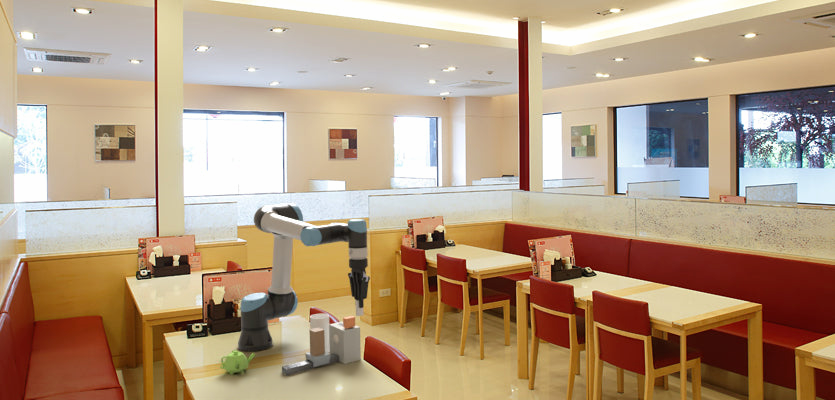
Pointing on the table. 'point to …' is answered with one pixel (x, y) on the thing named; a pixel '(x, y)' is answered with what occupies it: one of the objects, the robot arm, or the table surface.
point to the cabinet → (345, 342)
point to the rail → (306, 365)
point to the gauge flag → (349, 322)
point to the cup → (321, 326)
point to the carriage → (317, 348)
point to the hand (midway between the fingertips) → (359, 315)
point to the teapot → (236, 362)
